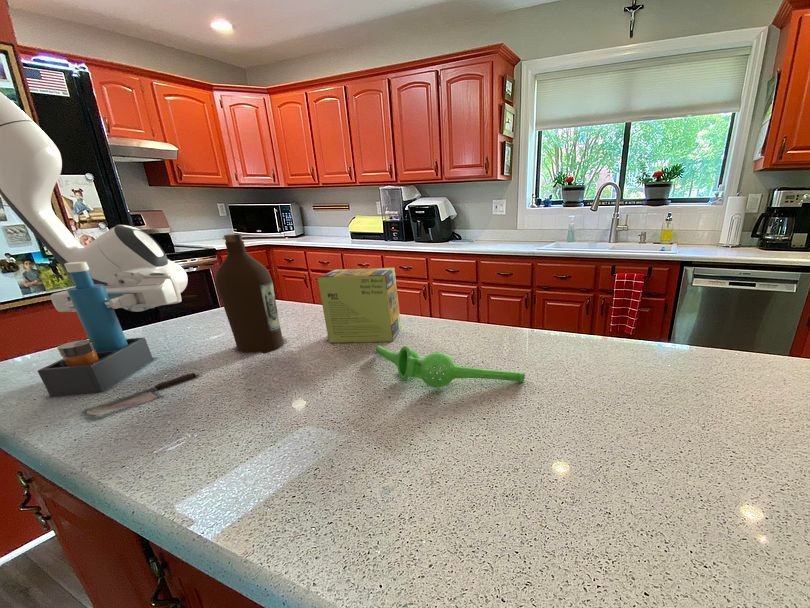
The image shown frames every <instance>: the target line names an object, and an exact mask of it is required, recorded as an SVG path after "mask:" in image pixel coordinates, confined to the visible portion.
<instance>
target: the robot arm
mask: <svg viewBox="0 0 810 608" xmlns="http://www.w3.org/2000/svg"><path fill="white" fill-rule="evenodd" d="M62 168H63V159H62V154H61V152H60V149H59V148H58V147H57V145H56V144H55V143H54V141H53V140H52V139H51V138H50V136H48V134H47V133H46V132H45V131H44V130H42V128H41V127H40V126H39V125H38V124H37V123H36V122H35V121H34V120H32V118H30V117H29V115H27V113H26V112H25V111H23V110H22V109H21V108H20V107H19V106H18V105H17V104H16V103H14V102H13V100H11V99H9V97H7V96H6V95H5V94H4V93H3V92H1V91H0V197H1V198H2V199H3V201H4V202H5V203H6V204H7V205H8V207H9V208H10V209H11V211H13V213H14V214H15V215H16V216H17V217H18V218H19V220H21V222H23V224H24V225H25V226H26V227H27V228H28V229H29V230H30V231H31V233H32V234H33V235H34V236H35V237H36V238H37V239H38V240H39V242H40V243H41V244H42V245H43V246H44V247H45V248H46V249H47V250H48V252H49V253H51V255H52V256H53V257H54V258H55V260H57V262H58V263H59V265H60V267H61V269H62V270H63V271H64V273H65V274H66V276H67V277H68V278H69V279H70V281H71V282H73V280H72V278H71V275H70V273H69V272H67V270H66V267H65V265H64V264H65V263H71V262H87V265H88V267H89V270H88V271H89V273H90V275H91V278H92V280H93V283H94V284H103V285H104V286H105V289H106V291H107V294H108V296H109V299H107V300H105V301H104V304H105V305H106V308H107V309H114V310H116V309H124V310H126V311H129V312H138V313H139V312H144V311H147V310H149V309H155V308H156V307H161V306H167V305H175V304H179V303H181V302H182V301H183V300H182V295H181V293H183V292H184V291H185V289H187V286H188V281H189V279H188V277H189V276H188V274H187V272H186V270H185V269H184V268H183V267H182V266H181V265H180V264H178V263H177V262H175V261H172V260H171V259H169V258H168V256H167V254H166V252H165V250H164V249H163V247H162V246H161V245H160V243H159V242H158V241H157V240H156V239H155V238H154V237H153V236H152V235H150V234H149V233H148V232H146V231H144V230H142V229H140V228H137V227H134V226H131V225H128V224H127V225H126V224H116V225H115V226H114V227H111V228H110V229H108V230H106V231H105V232H104V233H102V234H100V235H99V236H98V237H96V238H94V239H93V240H92V241H90V242H89V243H87V244H86V245H82V244H81V243H80V242H79V240H78V239H77V238H76V237H75V236H74V235H73V233H72V232H71V231H70V229H68V228H67V227H66V226H65V224H64V223H63V222H62V221H61V219H60V218H59V217H58V216H57V214H56V213H55V211H54V209H53V206H52V195H53V193H54V189H55V186H56V184H57V182H58V180H59V179H60V176H61V174H62ZM50 300H51V302H52V305H53V307H54V308H55V310H56V311H57V312H60V313H66V312H67V313H74V312H75V313H77V312H76V310H75V307H74V305H73V303H72V301H71V298H70V296H69V294H68V292H67V289H66V290H63V291H59V292H54V293H52V294H51V295H50Z"/></svg>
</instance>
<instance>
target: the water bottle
mask: <svg viewBox="0 0 810 608" xmlns="http://www.w3.org/2000/svg"><path fill="white" fill-rule="evenodd" d="M64 265H65V267H66V270H67V272H69V273H70V275H71V278H72V280H73V281H72V280H71V281H72V282H73V284H74V287H70V288H67V289H66V290H67V292H68V294H69V296H70V298H71V301H72V303H73V305H74V307H75V310H76V312H75V313H76V314H77V316H78V319H79V321H80V323H81V325H82V328H83V330H84V332H85V334H86V337H87V340H92V342H93V344H94V346H95V350H96V352H100V351H113V350H119V349H121V348H122V347H124V346H126V345H128V343H127V340H126V339H127V338H126V336H125V333H124V331H123V328H122V326H121V323H120V320H119V318H118V317H117V313H116V311H115V309H107V308H106V305H105V304H104V301H105V300H107V299H109V296H108V294H107V291H106V289H105V286H104V285H103V284H94V283H93V280H92V278H91V275H90V273H89V271H88V270H89V267H88V265H87V262H71V263H65V264H64Z"/></svg>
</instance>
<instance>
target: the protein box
mask: <svg viewBox="0 0 810 608" xmlns="http://www.w3.org/2000/svg"><path fill="white" fill-rule="evenodd" d="M317 285H318V290H319V294H320V300H321V306H322V311H323V316H324V323H325V327H326V332H327V339H328V343H336V344H337V343H339V344H340V343H382V342H387V343H388V342H390V343H391V342H393V341H394V340H395V339H396V337H397V335H398V334H399V333H400V331H401V329H402V321H401V314H400V305H399V296H398V295H399V294H398V286H397V279H396V269H395V267H380V268H379V267H377V268H374V267H373V268H345V269H333V270H331V271H329V272H327V273H324V274H322V275H319V276H318V277H317Z"/></svg>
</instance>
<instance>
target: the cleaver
mask: <svg viewBox="0 0 810 608" xmlns="http://www.w3.org/2000/svg"><path fill="white" fill-rule="evenodd" d="M196 378H197V374H196V373H194V372H190V373H187V374H183V375H181V376H178V377H175V378H172V379H170V380H167V381H162V382H160V383H157V384H156V385H154V387H152V388H149V389H146V390H144V391H140V392H138V393H135V394H133V395H129V396H127V397H124V398H121V399H118V400H115V401H113V402H109V403H107V404H105V405H101V406H98V407H96V408H92V409H89V410H87V411H86V414H88V415H101V414H104V413H109V412H112V411H116V410H120V409H124V408H128V407H132V406H137V405H141V404H145V403H147V402H149V401H153V400H155V399H158V396H157V395H155V394H153V392H156V391H160V390H163V389H167V388H170V387H172V386H175V385H178V384H181V383H184V382H188V381H191V380H193V379H196Z"/></svg>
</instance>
